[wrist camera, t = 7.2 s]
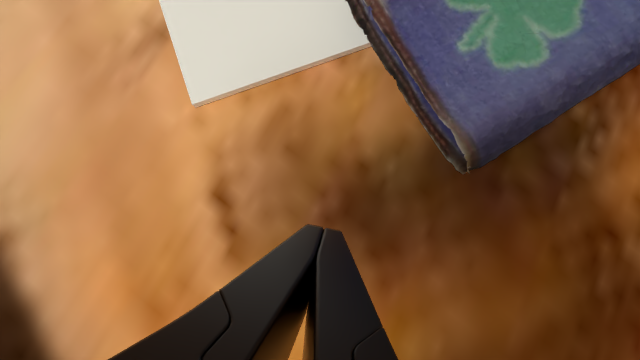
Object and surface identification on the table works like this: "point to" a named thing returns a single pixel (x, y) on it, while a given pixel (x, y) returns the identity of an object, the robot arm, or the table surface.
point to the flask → (498, 63)
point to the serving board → (255, 41)
